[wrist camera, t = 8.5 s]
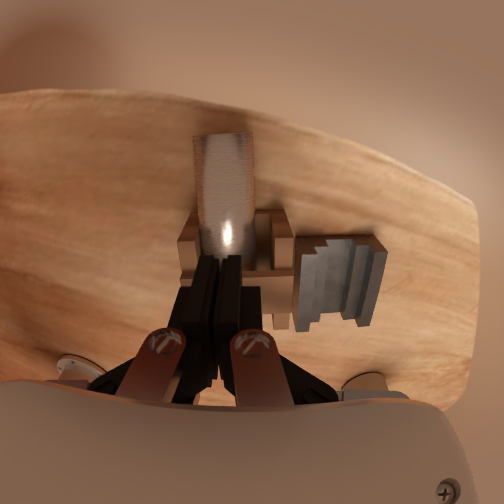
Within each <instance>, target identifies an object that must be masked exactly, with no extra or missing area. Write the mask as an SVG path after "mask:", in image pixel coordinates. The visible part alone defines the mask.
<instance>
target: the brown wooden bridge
mask: <svg viewBox="0 0 504 504" xmlns="http://www.w3.org/2000/svg"><path fill="white" fill-rule="evenodd" d="M255 225H256V263H257V271H242V286H260V288H261V307H262V314H272V319H273V329H274V330H279V329H289V316H290V313H291V312H292V297H293V280H294V275H293V271H292V263H293V240H294V238H293V235H292V231H291V228H290V225H289V222H288V219H287V216H286V213H285V210H257V211H255ZM177 246H178V252H179V258H180V264H181V270H182V274H181V277H180V283H181V286H191V284H192V280H193V277H194V274H195V270H196V267H197V263H198V260H199V257H200V255H202V246H201V236H200V226H199V216H198V213H191V214H190V216H189V218H188V220H187V222H186V224H185V226H184V228H183V230H182V232H181V234H180V236H179V238H178V240H177Z"/></svg>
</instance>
